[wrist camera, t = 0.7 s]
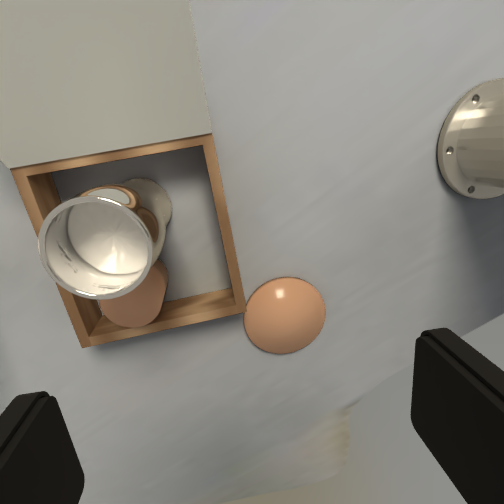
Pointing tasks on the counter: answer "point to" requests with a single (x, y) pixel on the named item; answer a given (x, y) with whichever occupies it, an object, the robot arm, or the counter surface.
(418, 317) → the counter surface
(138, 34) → the propped lid
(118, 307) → the peach rounded cylinder
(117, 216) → the beer glass
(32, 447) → the robot arm
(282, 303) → the orange dish
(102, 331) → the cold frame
